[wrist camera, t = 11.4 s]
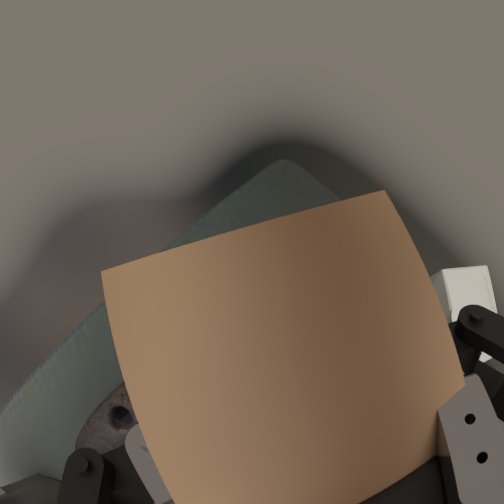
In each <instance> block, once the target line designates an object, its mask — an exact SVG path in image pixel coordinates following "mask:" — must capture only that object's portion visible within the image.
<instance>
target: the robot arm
mask: <svg viewBox="0 0 504 504" xmlns="http://www.w3.org/2000/svg"><path fill="white" fill-rule="evenodd" d="M448 326H449V329H450V332H451V335H452V338H453V341H454V344H455V347H456V351H457V354H458V357H459V361H460V365H461V368H462V372H463V376H464V380H465V384H466V385H465V386H464V387H463V388H461V389H460V390H459V391H458V392H457V393H456V394H455V395H453V396H452V397H451V398H450V399H449V400H448V401H446V402H445V403H444V404H443V405H441V406H440V407H439V408H438V409H437V432H436V446H437V450H438V454H437V455H436V456H434V457H432V458H431V459H430V460H429V461H428V462H427V463H425V464H424V465H423V466H421V467H420V468H418V469H417V470H416V471H414V472H413V473H411V474H410V475H408V476H407V477H405V478H404V479H402V480H401V481H399V482H398V483H396V484H394V485H393V486H391V487H389V488H388V489H386V490H384V491H383V492H381V493H379V494H378V495H376V496H374V497H372V498H370V499H368V500H367V501H365V502H363V503H361V504H504V434H503V431H502V428H501V426H500V423H499V420H498V418H499V419H501V420H502V421H503V422H504V374H502V373H500V372H498V371H497V370H495V369H493V368H492V367H490V366H488V365H487V364H485V363H483V362H482V361H480V360H479V358H480V356H481V354H482V352H484V353H486V354H487V355H489V356H491V357H493V358H494V359H496V360H498V361H500V362H501V363H503V364H504V317H503V316H501V315H499V314H497V313H495V312H493V311H491V310H489V309H487V308H485V307H483V306H480V305H467V306H464V307H463V308H462V309H461V310H460V312H459V315H458V318H457V321H454V322H451V323H448ZM153 503H156V504H175V503H174V501H173V499H172V497H171V495H170V493H169V491H168V490H167V488H166V486H165V484H164V482H163V480H162V478H161V475H160V473H159V471H158V469H157V467H156V465H155V463H154V460H153V458H152V456H151V454H150V451H149V449H148V446H147V444H146V442H145V439H144V437H143V434H142V432H141V429H140V426H139V424H138V421H137V424H136V425H135V426H134V427H133V428H131V430H130V431H129V432H128V434H127V436H126V439H125V444H123V445H122V446H120V447H117V448H115V449H113V450H111V451H108V452H106V453H104V454H100V453H99V452H97V451H96V450H94V449H92V448H87V447H85V448H80V449H78V450H76V451H74V452H73V453H72V454H71V455H70V456H69V458H68V460H67V462H66V466H65V469H64V473H63V477H62V481H61V482H59V481H57V480H55V479H52V478H47V477H42V476H41V475H39V474H35V475H33V476H30V477H28V478H25V479H22V480H20V481H17V482H14V483H12V484H9V485H6V486H3V487H0V504H153Z"/></svg>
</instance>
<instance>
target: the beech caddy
mask: <svg viewBox="0 0 504 504" xmlns="http://www.w3.org/2000/svg"><path fill="white" fill-rule="evenodd" d="M101 275H102V282H103V288H104V295H105V301H106V306H107V312H108V317H109V322H110V327H111V331H112V336H113V340H114V344H115V348H116V353H117V356H118V360H119V364H120V368H121V371H122V375H123V378H124V382H125V385H126V388H127V391H128V395H129V398H130V401H131V404H132V407H133V410H134V413H135V415H136V418H137V421H138V424H139V426H140V429H141V432H142V434H143V437H144V439H145V442H146V444H147V446H148V449H149V451H150V454H151V456H152V458H153V460H154V463H155V465H156V467H157V469H158V471H159V473H160V475H161V478H162V480H163V482H164V484H165V486H166V488H167V490H168V491H169V493H170V495H171V497H172V499H173V501H174V503H175V504H361V503H363V502H365V501H367V500H368V499H370V498H372V497H374V496H376V495H378V494H379V493H381V492H383V491H384V490H386V489H388V488H389V487H391V486H393V485H394V484H396V483H398V482H399V481H401V480H402V479H404V478H405V477H407V476H408V475H410V474H411V473H413V472H414V471H416V470H417V469H418V468H420V467H421V466H423V465H424V464H425V463H427V462H428V461H429V460H430V459H431V458H432V457H434V456H436V455H437V454H438V450H437V446H436V432H437V409H438V408H439V407H440V406H441V405H443V404H444V403H445V402H446V401H448V400H449V399H450V398H451V397H452V396H453V395H455V394H456V393H457V392H458V391H459V390H460V389H461V388H463V387H464V386H465V385H466V384H465V380H464V376H463V372H462V368H461V365H460V361H459V357H458V354H457V351H456V347H455V344H454V341H453V338H452V335H451V332H450V329H449V326H448V323H447V320H446V318H445V315H444V312H443V309H442V307H441V304H440V302H439V299H438V297H437V294H436V292H435V289H434V287H433V284H432V282H431V280H430V277H429V275H428V273H427V271H426V268H425V266H424V264H423V262H422V260H421V258H420V255H419V253H418V251H417V249H416V247H415V245H414V243H413V241H412V239H411V237H410V235H409V233H408V231H407V230H406V228H405V226H404V224H403V222H402V220H401V218H400V217H399V215H398V213H397V211H396V209H395V208H394V206H393V204H392V202H391V200H390V199H389V197H388V195H387V194H386V192H385V190H382V191H378V192H374V193H370V194H367V195H362V196H358V197H355V198H351V199H347V200H343V201H339V202H335V203H331V204H328V205H324V206H320V207H316V208H313V209H309V210H305V211H301V212H298V213H294V214H291V215H287V216H283V217H280V218H276V219H272V220H269V221H265V222H262V223H258V224H255V225H251V226H248V227H244V228H241V229H237V230H234V231H230V232H227V233H224V234H220V235H217V236H213V237H210V238H207V239H203V240H200V241H197V242H193V243H190V244H187V245H183V246H180V247H177V248H174V249H170V250H167V251H164V252H161V253H157V254H154V255H151V256H148V257H145V258H141V259H138V260H135V261H132V262H129V263H126V264H123V265H120V266H116V267H113V268H110V269H107V270H104V271H102V272H101Z"/></svg>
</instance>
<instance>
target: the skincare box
mask: <svg viewBox="0 0 504 504" xmlns="http://www.w3.org/2000/svg"><path fill="white" fill-rule="evenodd" d="M430 280H431V282H432V284H433V287H434V289H435V292H436V294H437V297H438V299H439V302H440V304H441V307H442V309H443V312H444V315H445V318H446V320H447V323H451V322H454V321H457V318H458V315H459V312H460V310H461V309H462V308H463V307H464V306H467V305H480V306H483V307H485V308H487V309H489V310H491V311H493V312H495V313H497V310H496V304H495V299H494V294H493V289H492V285H491V280H490V276H489V272H488V268H487V266H472V267H462V268H451V269H442V270H441V271H439V272H438V273H436V274H435V275H433V276H432V277H430ZM491 358H492V357H491V356H489V355H487V354H486V353H484V352H482V354H481V356H480V358H479V360H480V361H482V362H485V361H487V360H489V359H491Z"/></svg>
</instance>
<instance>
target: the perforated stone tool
mask: <svg viewBox="0 0 504 504" xmlns="http://www.w3.org/2000/svg"><path fill="white" fill-rule="evenodd" d="M136 424H137V418H136V415H135V413H134V410H133V407H132V404H131V401H130V398H129V395H128V391H127V388H126V385H125V382H124V383H122V384H121V385H120V386H119V387H118V388H117V389H116V390H114V391H113V392H112V393H111V394H110V395H109V396H108V397H107V398H106V399H105V400H104V401H103V402H102V403H101V404H100V405H99V406H98V407H97V408H96V409H95V411H94V412H93V413H92V414H91V416H90V417H89V418H88V420H87V421H86V423H85V424H84V426H83V428H82V430H81V432H80V434H79V435H78V438H77V441H76V445H75V451H76V450H78V449H80V448H85V447H87V448H92V449H94V450H96V451H97V452H99V453H100V454H104V453H106V452H108V451H111V450H113V449H115V448H117V447H120V446H122V445H123V444H125V439H126V436H127V434H128V432H129V431H130V430H131V428H133V427H134V426H135V425H136Z"/></svg>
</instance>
